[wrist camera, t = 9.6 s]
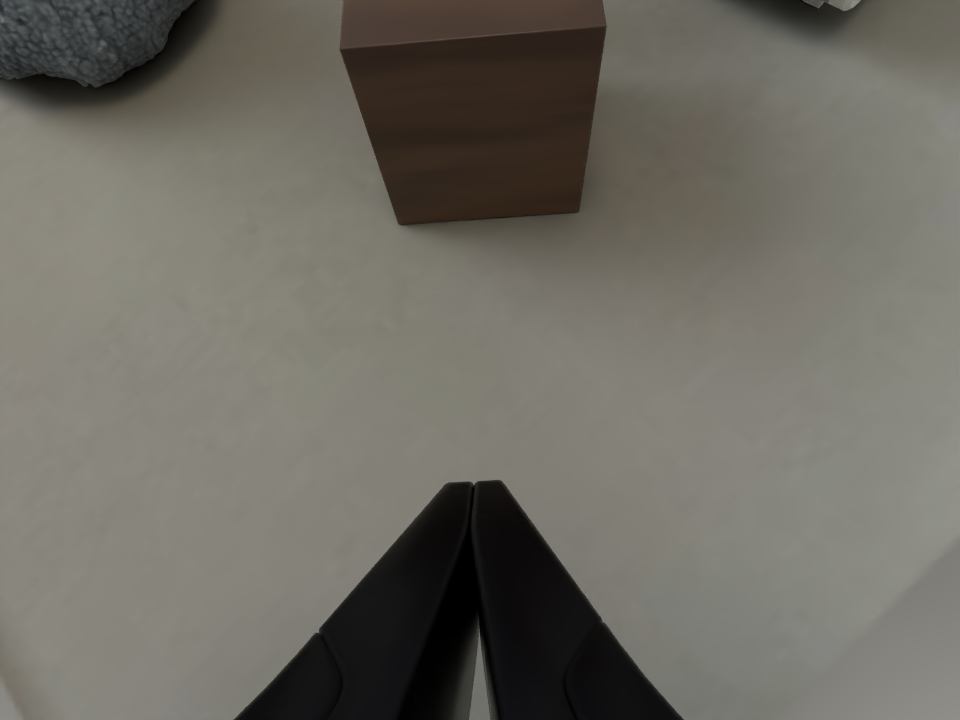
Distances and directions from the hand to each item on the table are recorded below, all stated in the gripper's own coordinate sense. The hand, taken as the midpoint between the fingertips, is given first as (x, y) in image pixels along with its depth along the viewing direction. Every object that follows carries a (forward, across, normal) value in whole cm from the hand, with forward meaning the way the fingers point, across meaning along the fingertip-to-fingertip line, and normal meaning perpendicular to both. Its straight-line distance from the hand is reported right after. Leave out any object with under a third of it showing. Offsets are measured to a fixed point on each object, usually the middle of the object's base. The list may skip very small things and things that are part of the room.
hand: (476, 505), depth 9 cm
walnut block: (+22, 0, -4) cm, 22 cm away
